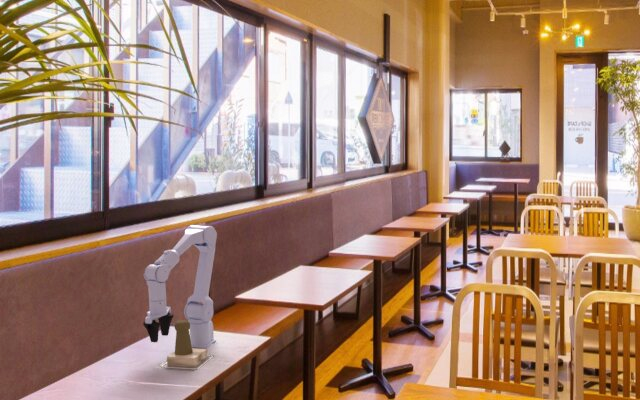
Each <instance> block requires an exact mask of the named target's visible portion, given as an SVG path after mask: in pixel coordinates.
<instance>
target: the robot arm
mask: <svg viewBox="0 0 640 400" xmlns="http://www.w3.org/2000/svg"><path fill="white" fill-rule="evenodd" d="M217 238H218V233H217V231H216V229H215V227H214V226H212V225H195V224H190V225H189V226H188V227H187V228H186V229H185V230H184V234H183V236H182V237H181V238H180V239H179V240H178V242H177V243H176V245H175V246H174V247H173V248H171V249H167V250H164V251H163V254H162V255H161V256H160V257H158V259H156V260H155V261H154V263H153V264H152V263H151V264H149V265H148V266H146V267H145V269H144V273H143V278H144V279H145V281H146V286H148V287H147V288H148V304H149V305H148V306H149V310H148V311H146V315H147V316H146V317H145V319H144V320H145V321H143V322H142V323H143V325H142V326H144V328H145V329H146V331H147V334H148V337H149V339H150V342H151V343H158V342H159V341H158V340H159V332H160V334H161V336H163V337H164V336H165V337H167V336H168V335H169V333H170V329H171V328H170V327H171V323H172V320H173V319H174V313H172V308H171V306H167V292H166V291H167V289H166V287H167V286H166V281H167V280H168V278H169V276H170V273H171V271H172V270H173V269H174V267H176V265H177V264H178V263H180V256H181V255H182V254H183V253H185V252H187V250H188V249H190V247H192V246H194V247H196V248H197V249H198V252H199V257H198V263H197V269H196V274H195V282H194V288H193V294H191V295H190V296H189V297H188V298H187V302H186V304H185V306H184V309H183V314H184V317H185V318H186V319H187V321H189V323H190V329H189V334H190V339H191V345H192V348H197V349H207V348H208V347H209V346H210V345H212V344H214V343H215V342H216V341H217V339H215V338H214V323H213V321H212V319H213V317H214V301H213V299H211V297H210V296H209V294H210V286H211V281H212V280H211V279H212V273H213V266H214V261H215V255H216V254H215V253H216V243H217ZM156 320H158V321H156ZM159 329H160V331H159Z"/></svg>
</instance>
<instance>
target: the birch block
mask: <svg viewBox="0 0 640 400" xmlns="http://www.w3.org/2000/svg"><path fill="white" fill-rule="evenodd" d="M192 350H193V352H192V353H191V354H188V355H176V354H175V351H173V352H172V353H171V354H169V355H167V356H166V360H167V366H181V367H196V366H197V365H199V364H200V363H201V362H202V361H204V360H205V359H206V358H207V355H208V349H207V348H198V347H192Z"/></svg>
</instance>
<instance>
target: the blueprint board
mask: <svg viewBox="0 0 640 400" xmlns="http://www.w3.org/2000/svg"><path fill="white" fill-rule="evenodd" d="M214 356H215V355H214V354H207V358H206V359H205V360H204V361H202V362H201V363H200V364H199V365H197V366H196V367H181V366H167V359H166V360H164V361H163V362H161V363H160V364H159V365H158V366H156V367H155V369H156V370H157V369H161V370H176V371H177V370H178V371H192V372H195V370H199V369H200V368H201V367H203V366H204V365H205V364H206V363H207V362H209V361H211V360H212V358H213V357H214Z"/></svg>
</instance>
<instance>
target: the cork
mask: <svg viewBox="0 0 640 400" xmlns="http://www.w3.org/2000/svg"><path fill="white" fill-rule="evenodd" d="M174 330H175V331H176V332H175V333H176V334H175V344H174V345H175V346H174V352H175V354H176V355H188V354H191V353H192V352H193V350H192V348H193V347H192V345H191V339H190V323H189V321H188V319H187V320H186V319H180V320H177V321H175V323H174Z"/></svg>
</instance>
